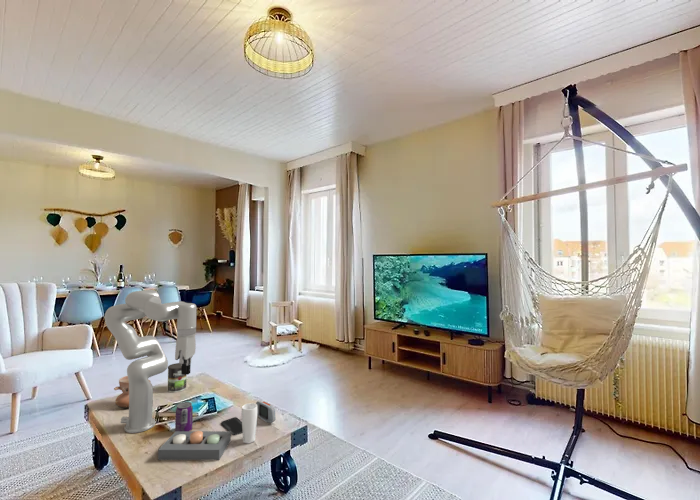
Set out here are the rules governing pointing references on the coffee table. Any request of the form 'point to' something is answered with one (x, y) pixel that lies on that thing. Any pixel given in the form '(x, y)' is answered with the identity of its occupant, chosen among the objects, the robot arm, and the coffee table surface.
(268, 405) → the handheld gaming console
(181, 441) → the button ivory
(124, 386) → the ceramic jug
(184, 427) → the beverage can
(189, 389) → the coffee table surface
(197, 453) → the grey slotted block
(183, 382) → the coffee can
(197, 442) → the button terracotta
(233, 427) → the phone
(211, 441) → the button sage
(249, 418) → the drinking glass
